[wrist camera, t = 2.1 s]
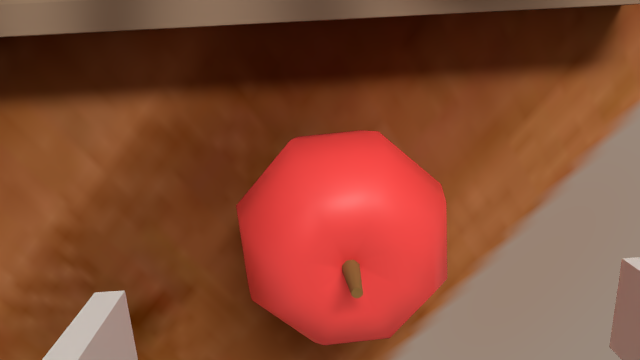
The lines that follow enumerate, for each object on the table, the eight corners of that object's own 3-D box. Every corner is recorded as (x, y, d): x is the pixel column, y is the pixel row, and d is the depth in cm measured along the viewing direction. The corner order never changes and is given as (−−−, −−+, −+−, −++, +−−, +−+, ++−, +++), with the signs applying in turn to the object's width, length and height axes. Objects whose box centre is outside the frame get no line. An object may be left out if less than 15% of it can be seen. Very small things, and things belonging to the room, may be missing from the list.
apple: (297, 307, 23) (300, 445, 15) (207, 164, 21) (159, 243, 13) (450, 231, 22) (533, 337, 15) (375, 74, 20) (427, 103, 12)
